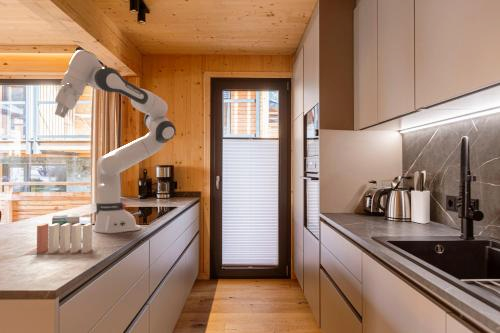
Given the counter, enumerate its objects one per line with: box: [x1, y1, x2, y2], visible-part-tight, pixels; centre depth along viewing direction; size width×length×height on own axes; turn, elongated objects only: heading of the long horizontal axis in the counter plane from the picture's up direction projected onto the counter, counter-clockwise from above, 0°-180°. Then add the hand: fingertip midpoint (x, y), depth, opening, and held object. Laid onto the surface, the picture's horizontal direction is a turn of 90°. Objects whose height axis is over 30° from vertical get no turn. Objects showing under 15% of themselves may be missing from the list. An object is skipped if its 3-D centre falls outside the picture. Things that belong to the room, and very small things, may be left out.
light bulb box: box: [51, 213, 80, 241], centre depth 146 cm, size 11×7×11 cm, turn 117°
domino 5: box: [82, 222, 93, 252], centre depth 125 cm, size 2×5×10 cm, turn 7°
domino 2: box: [48, 223, 60, 253], centre depth 123 cm, size 2×5×10 cm, turn 7°
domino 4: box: [70, 222, 82, 253], centre depth 124 cm, size 2×5×10 cm, turn 7°
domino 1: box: [36, 223, 49, 253], centre depth 123 cm, size 2×5×10 cm, turn 7°
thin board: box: [22, 246, 102, 256], centre depth 124 cm, size 24×10×1 cm, turn 97°
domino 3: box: [59, 223, 71, 253], centre depth 124 cm, size 2×5×10 cm, turn 7°
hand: (59, 116), depth 137 cm, fingers open, 8 cm apart
